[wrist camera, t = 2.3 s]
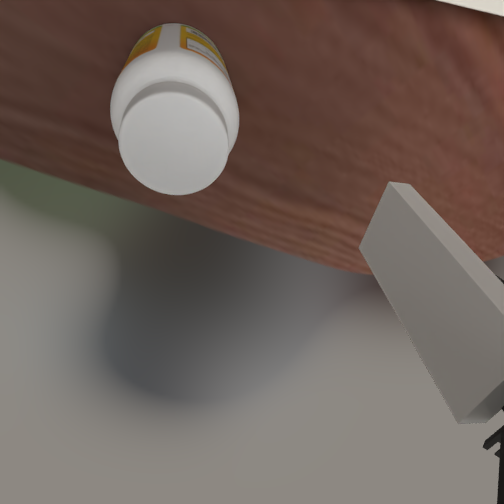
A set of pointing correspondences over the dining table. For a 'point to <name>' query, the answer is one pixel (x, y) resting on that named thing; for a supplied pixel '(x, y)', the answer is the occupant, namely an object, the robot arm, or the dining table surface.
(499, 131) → the dining table surface
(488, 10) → the socket holder
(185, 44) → the supplement bottle
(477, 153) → the dining table surface
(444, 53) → the dining table surface
